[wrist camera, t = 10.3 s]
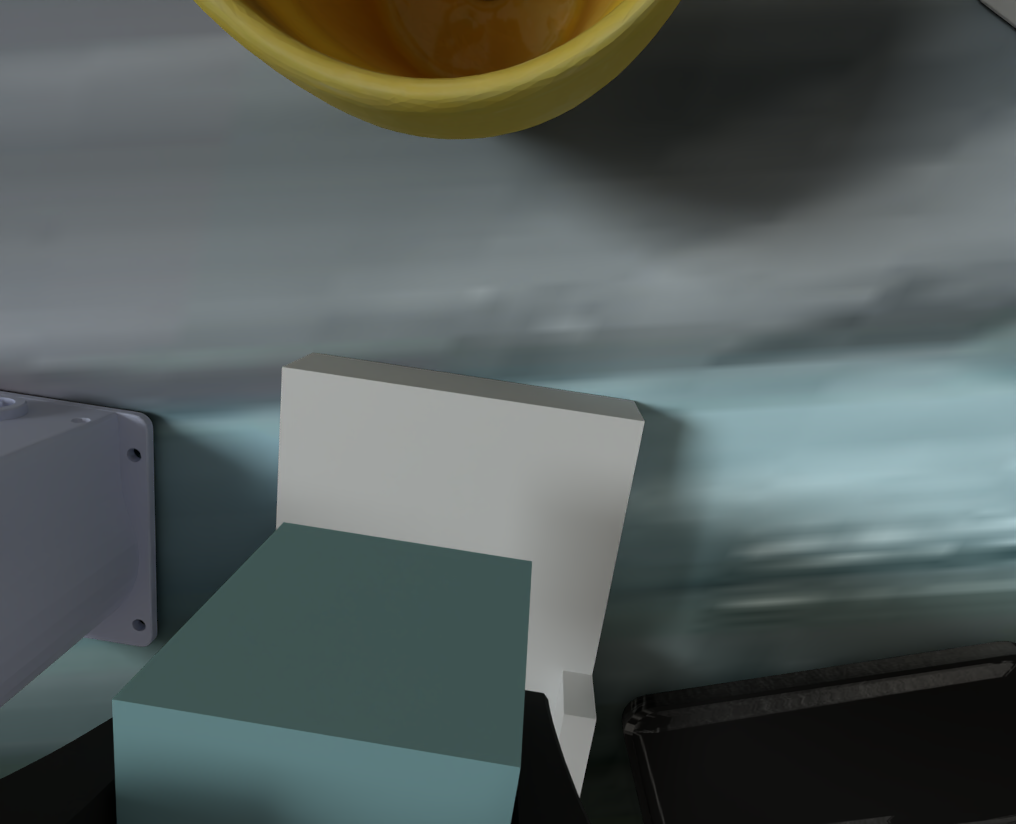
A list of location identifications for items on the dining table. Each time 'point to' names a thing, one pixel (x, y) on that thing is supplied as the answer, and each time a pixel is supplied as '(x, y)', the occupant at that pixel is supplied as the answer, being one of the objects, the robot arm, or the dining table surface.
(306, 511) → the grey channel
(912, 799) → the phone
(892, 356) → the dining table surface
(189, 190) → the dining table surface
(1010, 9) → the medicine bottle
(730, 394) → the dining table surface
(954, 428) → the dining table surface
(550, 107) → the plant pot
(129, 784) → the teal block
